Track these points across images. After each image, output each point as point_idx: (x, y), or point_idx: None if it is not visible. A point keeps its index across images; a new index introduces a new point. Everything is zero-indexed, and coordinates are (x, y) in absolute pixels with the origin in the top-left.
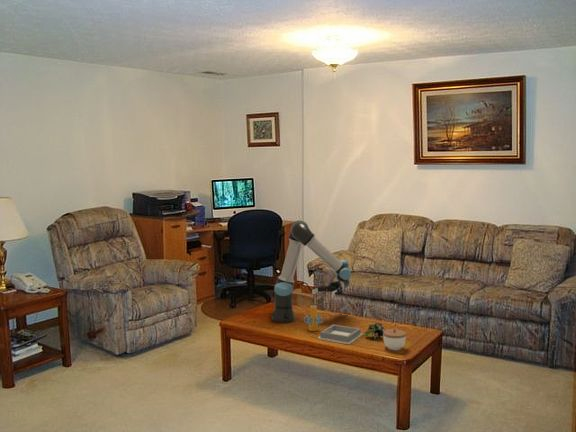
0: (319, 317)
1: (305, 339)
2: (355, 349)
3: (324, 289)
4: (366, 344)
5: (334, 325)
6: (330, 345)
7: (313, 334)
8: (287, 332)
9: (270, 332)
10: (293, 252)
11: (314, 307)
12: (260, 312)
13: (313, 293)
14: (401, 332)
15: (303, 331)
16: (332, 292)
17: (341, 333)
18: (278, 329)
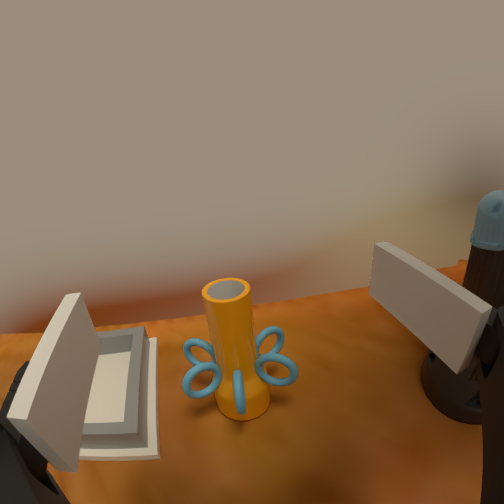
0: (200, 364)
1: (194, 320)
2: (33, 337)
3: (499, 480)
4: (5, 376)
5: (123, 422)
6: (99, 327)
7: None
8: (301, 322)
9: (336, 293)
10: None
11: (208, 285)
12: None
13: (374, 288)
14: None
15: (265, 363)
16: (69, 296)
17: (87, 413)
18: (353, 318)
